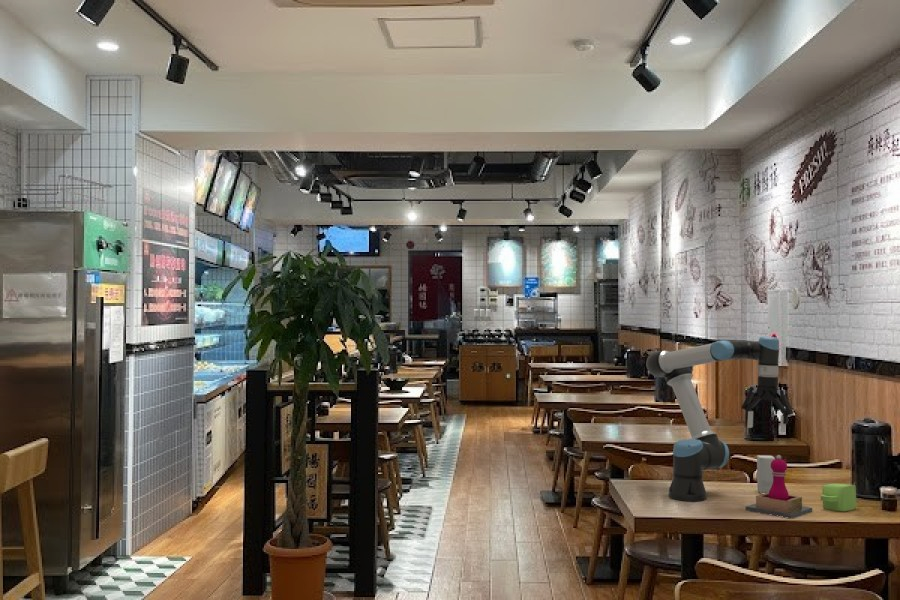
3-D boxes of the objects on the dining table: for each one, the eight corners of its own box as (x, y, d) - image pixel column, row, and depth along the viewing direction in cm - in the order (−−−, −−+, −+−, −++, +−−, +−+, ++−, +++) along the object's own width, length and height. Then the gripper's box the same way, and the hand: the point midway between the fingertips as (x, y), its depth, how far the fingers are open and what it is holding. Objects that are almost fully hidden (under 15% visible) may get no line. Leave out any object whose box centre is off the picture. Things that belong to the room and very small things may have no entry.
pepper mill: (782, 504, 329) (782, 453, 330) (792, 509, 322) (792, 456, 323) (765, 505, 328) (765, 453, 329) (774, 509, 321) (774, 456, 322)
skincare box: (775, 495, 356) (776, 458, 356) (759, 494, 357) (759, 457, 357) (772, 491, 364) (772, 455, 364) (756, 490, 365) (756, 454, 365)
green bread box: (836, 504, 341) (836, 480, 342) (861, 507, 334) (860, 483, 335) (815, 509, 330) (814, 484, 331) (840, 512, 322) (839, 487, 323)
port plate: (745, 510, 326) (745, 495, 326) (767, 503, 338) (767, 490, 338) (791, 518, 312) (791, 503, 313) (812, 511, 325) (812, 497, 325)
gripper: (734, 373, 339) (732, 426, 339) (794, 379, 321) (792, 435, 321) (743, 373, 344) (741, 424, 344) (803, 378, 326) (801, 433, 326)
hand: (766, 429), depth 333 cm, fingers open, 13 cm apart
